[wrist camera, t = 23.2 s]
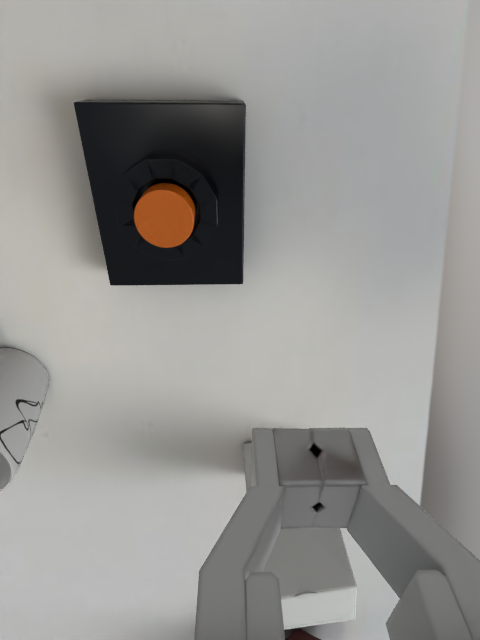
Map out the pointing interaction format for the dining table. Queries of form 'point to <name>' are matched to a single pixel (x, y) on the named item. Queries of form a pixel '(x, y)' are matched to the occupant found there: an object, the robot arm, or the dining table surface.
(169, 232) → the button
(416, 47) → the dining table surface
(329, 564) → the cosmetic box
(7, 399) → the mug
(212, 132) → the block
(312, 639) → the vase
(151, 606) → the dining table surface
